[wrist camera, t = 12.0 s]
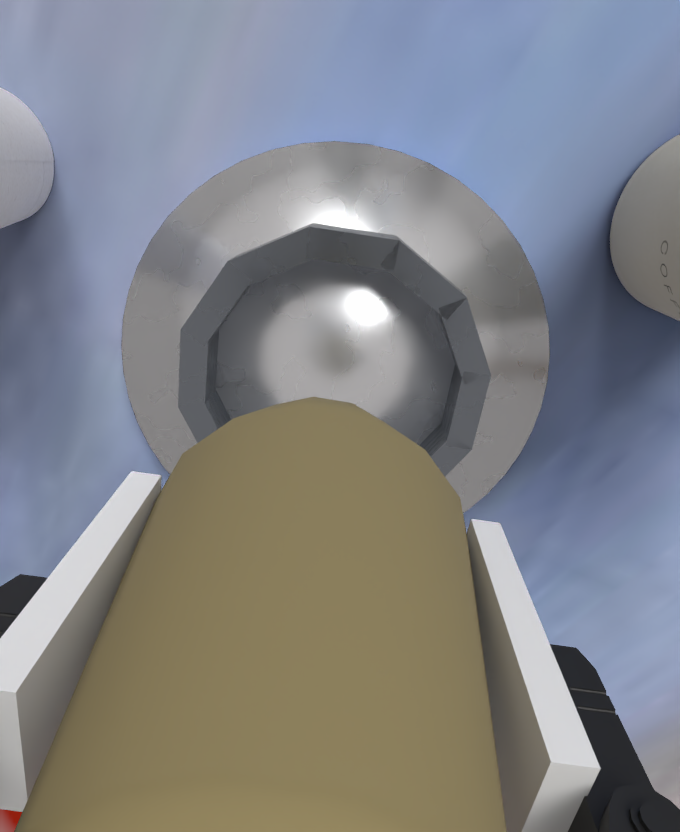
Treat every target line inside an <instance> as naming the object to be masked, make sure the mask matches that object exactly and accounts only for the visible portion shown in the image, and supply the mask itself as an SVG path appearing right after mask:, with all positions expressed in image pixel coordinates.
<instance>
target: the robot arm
mask: <svg viewBox="0 0 680 832" xmlns="http://www.w3.org/2000/svg"><path fill="white" fill-rule="evenodd" d="M160 492H161V475H156V474H149V473H142V472H134V471H131V472H130V474H129V475H128V476H127V477H126V479H125V480H124V481H123V483H122V484H121V485H120V486H119V488H118V489H117V490H116V491H115V493H114V494H113V495H112V497H111V498H110V499H109V500H108V502H107V503H106V504H105V506H104V507H103V508H102V509H101V511H100V512H99V513H98V514H97V516H96V517H95V518H94V520H93V521H92V522H91V523H90V525H89V526H88V527H87V529H86V530H85V531H84V532H83V534H82V535H81V536H80V537H79V539H78V540H77V541H76V543H75V544H74V545H73V546H72V548H71V549H70V550H69V551H68V553H67V554H66V555H65V557H64V558H63V559H62V560H61V562H60V563H59V564H58V566H57V567H56V568H55V569H54V571H53V572H52V573H51V574H50V576H49V577H48V578H44V577H37V576H29V575H22V574H20V575H18V576H17V577H15V578H14V579H12V580H10V581H9V582H7V583H5V584H4V585H2V586H1V587H0V809H4V810H12V811H20V812H23V810H24V808H25V805H26V803H27V801H28V798H29V796H30V794H31V791H32V789H33V786H34V784H35V782H36V779H37V777H38V775H39V772H40V770H41V768H42V765H43V763H44V761H45V758H46V756H47V754H48V751H49V749H50V747H51V744H52V742H53V740H54V737H55V735H56V733H57V730H58V728H59V726H60V723H61V721H62V718H63V716H64V714H65V711H66V709H67V707H68V704H69V702H70V700H71V697H72V695H73V693H74V690H75V688H76V686H77V683H78V681H79V679H80V676H81V674H82V672H83V669H84V667H85V665H86V662H87V660H88V658H89V655H90V653H91V650H92V648H93V646H94V643H95V641H96V639H97V636H98V634H99V632H100V629H101V627H102V625H103V622H104V620H105V618H106V615H107V613H108V611H109V608H110V606H111V604H112V601H113V599H114V597H115V594H116V592H117V590H118V587H119V585H120V583H121V580H122V578H123V575H124V573H125V571H126V568H127V566H128V564H129V561H130V559H131V557H132V554H133V552H134V550H135V547H136V545H137V543H138V540H139V538H140V536H141V533H142V531H143V529H144V526H145V524H146V522H147V519H148V517H149V515H150V512H151V510H152V507H153V505H154V503H155V501H156V499H157V497H158V496H159V494H160ZM467 540H468V545H469V552H470V559H471V566H472V574H473V581H474V589H475V596H476V604H477V611H478V619H479V626H480V634H481V641H482V649H483V656H484V664H485V671H486V679H487V686H488V694H489V701H490V709H491V716H492V724H493V731H494V739H495V746H496V754H497V761H498V768H499V776H500V783H501V791H502V798H503V806H504V813H505V821H506V828H507V832H680V809H678V808H677V807H676V806H675V805H674V804H673V803H672V802H671V801H670V800H668V799H667V798H665V797H664V796H662V795H660V794H659V793H657V792H656V791H655V790H654V789H653V787H652V785H651V783H650V781H649V779H648V777H647V775H646V773H645V771H644V769H643V766H642V764H641V762H640V760H639V758H638V756H637V754H636V752H635V750H634V748H633V746H632V744H631V742H630V740H629V737H628V735H627V733H626V731H625V729H624V727H623V725H622V723H621V721H620V719H619V717H618V715H616V714H615V708H614V706H613V704H612V702H611V700H610V698H609V696H606V690H605V688H604V686H603V684H602V682H601V679H600V677H599V675H598V673H597V671H596V669H595V668H594V667H593V666H592V665H591V663H590V662H589V661H588V660H587V659H586V658H585V657H584V656H583V655H582V654H581V653H580V651H579V650H578V649H577V648H573V647H566V646H559V645H551V644H549V641H548V639H547V636H546V634H545V631H544V629H543V627H542V624H541V622H540V619H539V617H538V614H537V612H536V609H535V607H534V605H533V602H532V600H531V597H530V595H529V592H528V590H527V588H526V585H525V583H524V580H523V578H522V575H521V573H520V570H519V568H518V566H517V563H516V561H515V558H514V556H513V553H512V551H511V548H510V546H509V544H508V541H507V539H506V536H505V534H504V531H503V529H502V527H501V524H500V523H497V522H490V521H483V520H476V519H471V521H470V524H469V528H468V532H467Z"/></svg>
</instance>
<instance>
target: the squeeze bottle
mask: <svg viewBox="0 0 680 832" xmlns="http://www.w3.org/2000/svg"><path fill="white" fill-rule="evenodd" d="M14 832H507V828H506V821H505V813H504V806H503V798H502V791H501V783H500V776H499V768H498V761H497V754H496V746H495V739H494V731H493V724H492V716H491V709H490V701H489V694H488V686H487V679H486V671H485V664H484V656H483V649H482V641H481V634H480V626H479V619H478V611H477V604H476V596H475V589H474V581H473V574H472V566H471V559H470V552H469V545H468V540H467V534H466V528H465V523H464V517H463V511H462V505H461V500H460V497H459V496H458V494H457V493H456V491H455V490H454V489H453V487H452V486H451V485H450V483H449V482H448V480H447V479H446V478H445V476H444V475H443V474H442V472H441V471H440V469H439V468H438V467H437V465H436V464H435V463H434V461H433V460H432V458H431V457H430V456H429V454H428V453H427V452H426V450H425V449H423V448H422V447H420V446H419V445H418V444H416V443H415V442H413V441H412V440H410V439H409V438H407V437H406V436H404V435H403V434H401V433H400V432H398V431H397V430H395V429H394V428H393V427H391V426H390V425H388V424H387V423H385V422H383V421H382V420H380V419H378V418H377V417H375V416H373V415H372V414H370V413H368V412H367V411H365V410H363V409H362V408H360V407H358V406H356V405H355V404H353V403H349V402H343V401H337V400H331V399H325V398H319V397H309V398H304V399H300V400H295V401H290V402H285V403H280V404H276V405H273V406H270V407H267V408H263V409H260V410H257V411H254V412H251V413H248V414H245V415H242V416H239V417H236V418H233V419H232V420H230V421H229V422H228V423H226V424H225V425H223V426H222V427H220V428H219V429H217V430H216V431H214V432H213V433H212V434H210V435H209V436H207V437H206V438H204V439H203V440H201V441H200V442H198V443H197V444H196V445H194V446H193V447H191V448H190V449H188V450H187V451H185V452H184V453H183V454H182V455H181V457H180V459H179V461H178V462H177V464H176V466H175V468H174V469H173V471H172V473H171V475H170V476H169V478H168V480H167V482H166V483H165V485H164V487H163V489H162V490H161V492H160V494H159V496H158V497H157V499H156V501H155V503H154V505H153V507H152V510H151V512H150V515H149V517H148V519H147V522H146V524H145V526H144V529H143V531H142V533H141V536H140V538H139V540H138V543H137V545H136V547H135V550H134V552H133V554H132V557H131V559H130V561H129V564H128V566H127V568H126V571H125V573H124V575H123V578H122V580H121V583H120V585H119V587H118V590H117V592H116V594H115V597H114V599H113V601H112V604H111V606H110V608H109V611H108V613H107V615H106V618H105V620H104V622H103V625H102V627H101V629H100V632H99V634H98V636H97V639H96V641H95V643H94V646H93V648H92V650H91V653H90V655H89V658H88V660H87V662H86V665H85V667H84V669H83V672H82V674H81V676H80V679H79V681H78V683H77V686H76V688H75V690H74V693H73V695H72V697H71V700H70V702H69V704H68V707H67V709H66V711H65V714H64V716H63V718H62V721H61V723H60V726H59V728H58V730H57V733H56V735H55V737H54V740H53V742H52V744H51V747H50V749H49V751H48V754H47V756H46V758H45V761H44V763H43V765H42V768H41V770H40V772H39V775H38V777H37V779H36V782H35V784H34V786H33V789H32V791H31V794H30V796H29V798H28V801H27V803H26V805H25V808H24V810H23V812H22V815H21V817H20V819H19V822H18V824H17V826H16V829H15V831H14Z"/></svg>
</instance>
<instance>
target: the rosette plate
mask: <svg viewBox="0 0 680 832" xmlns="http://www.w3.org/2000/svg"><path fill="white" fill-rule="evenodd" d="M121 346H122V359H123V372H124V377H125V382H126V386H127V391H128V396H129V399H130V402H131V405H132V408H133V411H134V414H135V416H136V419H137V422H138V424H139V426H140V428H141V430H142V432H143V434H144V436H145V438H146V440H147V442H148V444H149V446H150V447H151V449H152V450H153V452H154V453H155V455H156V456H157V458H158V459H159V461H160V462H161V464H162V465H163V467H164V468H165V469H166V470H167V471H168V473H169V474H170V475H171V473H172V471H173V469H174V468H175V466H176V464H177V462H178V461H179V459H180V457H181V455H182V454H183V453H184V452H185V451H187V450H188V449H190V448H191V447H193V446H194V445H196V444H197V443H198V442H200V441H201V440H203V439H204V438H206V437H207V436H209V435H210V434H212V433H213V432H214V431H216V430H217V429H219V428H220V427H222V426H223V425H225V424H226V423H228V422H229V421H230V420H232V419H233V418H236V417H239V416H242V415H245V414H248V413H251V412H254V411H257V410H260V409H263V408H267V407H270V406H273V405H276V404H280V403H285V402H290V401H295V400H300V399H304V398H309V397H319V398H325V399H331V400H337V401H343V402H349V403H353V404H355V405H356V406H358V407H360V408H362V409H363V410H365V411H367V412H368V413H370V414H372V415H373V416H375V417H377V418H378V419H380V420H382V421H383V422H385V423H387V424H388V425H390V426H391V427H393V428H394V429H395V430H397V431H398V432H400V433H401V434H403V435H404V436H406V437H407V438H409V439H410V440H412V441H413V442H415V443H416V444H418V445H419V446H420V447H422V448H423V449H425V450H426V452H427V453H428V454H429V456H430V457H431V458H432V460H433V461H434V463H435V464H436V465H437V467H438V468H439V469H440V471H441V472H442V474H443V475H444V476H445V478H446V479H447V480H448V482H449V483H450V485H451V486H452V487H453V489H454V490H455V491H456V493H457V494H458V496H459V497H460V500H461V505H462V511H463V513H464V512H466V511H467V510H469V509H470V508H471V507H472V506H474V505H475V504H476V503H477V502H478V501H479V500H481V499H482V498H483V497H484V496H485V495H487V494H488V493H489V492H490V491H491V489H492V488H493V487H494V486H495V485H496V484H497V483H498V482H499V481H500V480H501V479H502V478H503V476H504V475H505V474H506V473H507V471H508V470H509V469H510V467H511V466H512V464H513V463H514V462H515V460H516V459H517V457H518V456H519V455H520V453H521V451H522V449H523V447H524V445H525V444H526V442H527V440H528V438H529V436H530V434H531V432H532V430H533V427H534V425H535V422H536V420H537V417H538V414H539V412H540V409H541V406H542V402H543V397H544V393H545V389H546V384H547V378H548V368H549V357H550V350H549V328H548V322H547V317H546V311H545V306H544V301H543V297H542V294H541V291H540V288H539V285H538V282H537V280H536V277H535V274H534V271H533V269H532V267H531V265H530V263H529V261H528V259H527V257H526V255H525V253H524V252H523V250H522V248H521V246H520V244H519V243H518V241H517V240H516V239H515V237H514V236H513V234H512V233H511V232H510V230H509V229H508V227H507V226H506V224H505V223H504V222H503V220H502V219H501V218H500V217H499V216H498V215H497V214H496V213H495V212H494V211H493V210H492V209H491V208H490V207H489V206H488V205H487V204H486V203H485V202H484V200H483V199H482V198H480V197H479V196H478V195H477V194H475V193H474V192H473V191H471V190H470V189H469V188H468V187H466V186H465V185H464V184H462V183H461V182H460V181H459V180H457V179H456V178H454V177H452V176H451V175H449V174H447V173H445V172H444V171H442V170H440V169H438V168H437V167H435V166H433V165H431V164H430V163H427V162H425V161H422V160H420V159H417V158H414V157H412V156H409V155H407V154H404V153H402V152H399V151H395V150H391V149H386V148H382V147H378V146H373V145H369V144H360V143H348V142H336V141H333V142H317V143H302V144H297V145H293V146H288V147H283V148H278V149H274V150H270V151H267V152H264V153H262V154H259V155H256V156H254V157H251V158H248V159H246V160H243V161H241V162H239V163H237V164H235V165H233V166H231V167H230V168H228V169H226V170H224V171H222V172H220V173H219V174H217V175H215V176H213V177H212V178H211V179H209V180H208V181H207V182H206V183H204V184H203V185H202V186H200V187H199V188H198V189H196V190H195V191H194V192H192V193H191V194H190V195H189V196H188V197H187V198H186V199H185V200H184V201H183V202H182V203H181V204H180V205H179V206H178V207H177V208H176V209H175V210H174V211H173V212H172V213H171V214H170V215H169V216H168V217H167V219H166V220H165V222H164V223H163V224H162V226H161V227H160V228H159V230H158V231H157V233H156V234H155V235H154V237H153V238H152V239H151V241H150V243H149V245H148V247H147V249H146V251H145V253H144V255H143V256H142V258H141V260H140V262H139V264H138V266H137V269H136V272H135V275H134V278H133V280H132V283H131V286H130V289H129V292H128V297H127V302H126V307H125V312H124V317H123V328H122V345H121Z"/></svg>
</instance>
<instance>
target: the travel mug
mask: <svg viewBox="0 0 680 832" xmlns="http://www.w3.org/2000/svg"><path fill="white" fill-rule="evenodd" d="M610 251H611V257H612V262H613V266H614V269H615V271H616V274H617V276H618V278H619V280H620V281H621V283H622V285H623V286H624V287H625V289H626V290H627V291H628V292H629V293H630V294H631V295H632V296H633V297H634V298H635V299H636V300H638V301H639V302H640V303H642V304H644V305H645V306H647V307H649V308H651V309H653V310H656V311H658V312H660V313H662V314H664V315H667V316H669V317H671V318H673V319H676V320H678V321H680V134H679V135H677V136H675V137H674V138H672V139H671V140H669V141H667V142H666V143H665V144H663V145H662V146H661V147H659V148H658V149H657V150H656V151H654V152H653V153H652V154H651V155H650V156H649V157H648V158H647V159H646V160H645V161H644V162H643V163H642V164H641V165H640V167H639V168H638V169H637V170H636V171H635V173H634V174H633V176H632V177H631V178H630V180H629V181H628V183H627V185H626V186H625V188H624V190H623V192H622V194H621V196H620V198H619V201H618V203H617V206H616V208H615V212H614V215H613V219H612V224H611V232H610Z"/></svg>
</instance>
